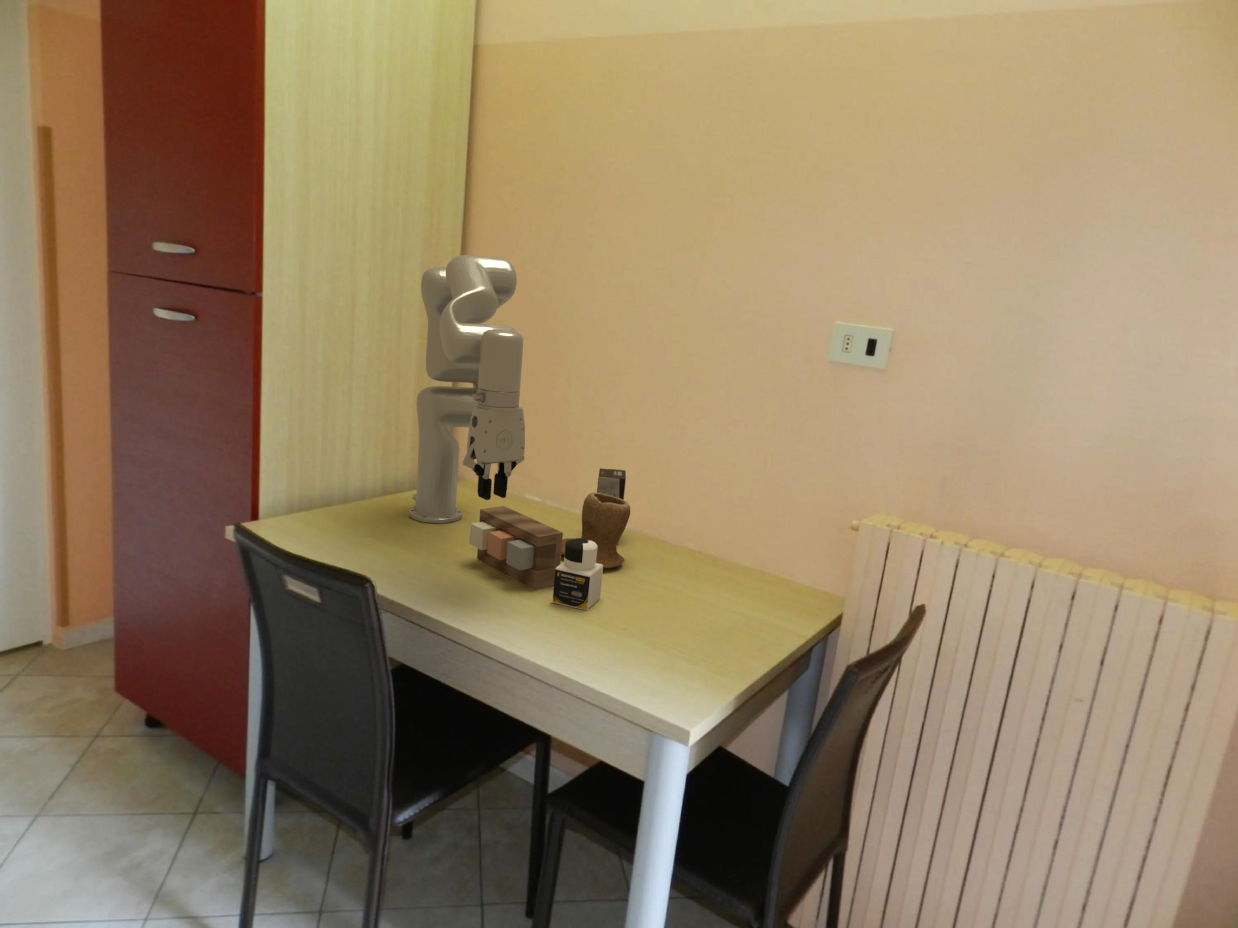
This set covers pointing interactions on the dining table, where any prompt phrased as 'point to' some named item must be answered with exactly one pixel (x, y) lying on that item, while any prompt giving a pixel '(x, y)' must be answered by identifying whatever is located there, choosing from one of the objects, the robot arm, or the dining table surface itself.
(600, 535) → the stone cup
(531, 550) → the slate key
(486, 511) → the wooden button box
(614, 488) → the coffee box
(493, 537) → the terracotta key
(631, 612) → the dining table surface
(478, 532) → the ivory key
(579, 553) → the medicine bottle
